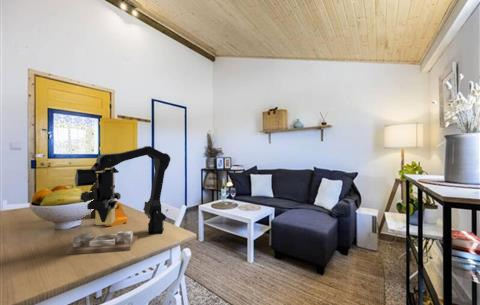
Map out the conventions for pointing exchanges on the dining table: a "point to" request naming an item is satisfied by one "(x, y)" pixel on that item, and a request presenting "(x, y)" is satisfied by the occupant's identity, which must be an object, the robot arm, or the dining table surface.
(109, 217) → the tan rectangular block
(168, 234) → the dining table surface
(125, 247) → the coupling base
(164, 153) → the robot arm
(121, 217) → the bracket
